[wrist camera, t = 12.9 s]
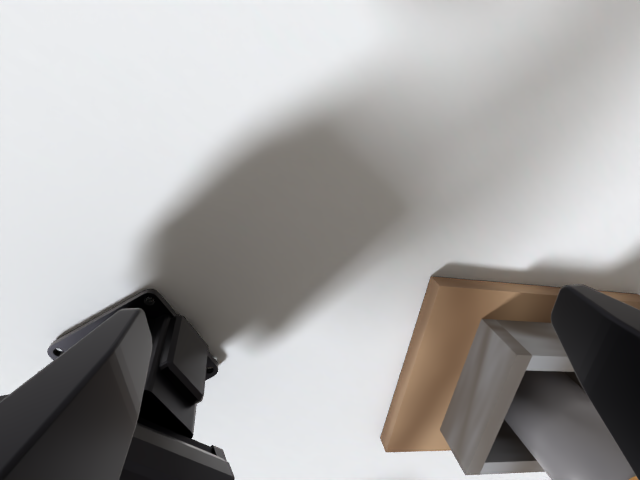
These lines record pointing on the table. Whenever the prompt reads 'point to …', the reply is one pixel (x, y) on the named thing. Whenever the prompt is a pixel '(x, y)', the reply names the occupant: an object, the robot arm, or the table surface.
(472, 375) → the end holder
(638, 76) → the table surface
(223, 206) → the table surface
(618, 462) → the cable plug
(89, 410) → the robot arm
